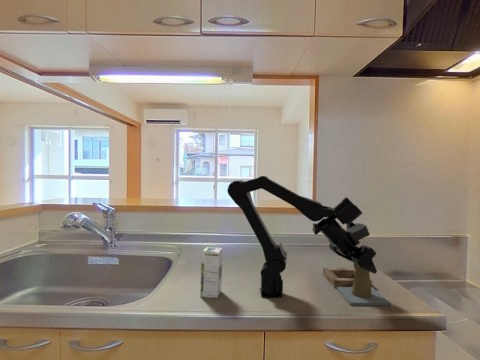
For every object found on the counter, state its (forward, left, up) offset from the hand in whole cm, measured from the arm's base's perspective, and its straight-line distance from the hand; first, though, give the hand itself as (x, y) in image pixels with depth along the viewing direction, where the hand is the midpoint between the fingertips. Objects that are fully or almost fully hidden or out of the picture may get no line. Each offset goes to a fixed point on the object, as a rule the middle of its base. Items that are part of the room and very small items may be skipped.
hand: (366, 267), depth 97 cm
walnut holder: (-1, +14, -9) cm, 17 cm away
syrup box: (-49, +1, -10) cm, 50 cm away
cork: (-1, 0, -9) cm, 9 cm away
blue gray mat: (-1, 0, -9) cm, 9 cm away
